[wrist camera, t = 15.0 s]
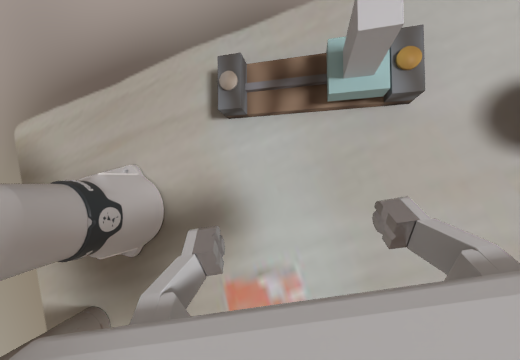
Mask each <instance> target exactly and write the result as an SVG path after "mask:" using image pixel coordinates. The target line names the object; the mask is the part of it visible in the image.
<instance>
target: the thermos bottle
mask: <svg viewBox="0 0 520 360" xmlns="http://www.w3.org/2000/svg"><path fill="white" fill-rule="evenodd" d="M105 328H110V321H109V318H108V316H107V315H106V313H105V312H104V311H103V310H102V309H100V308H98V307H90V308H88V309H86V310H84V311H82V312H80V313H79V314H77V315H75V316H73V317H72V318H70V319H68V320H66V321H64V322H63V323H61V324H59V325H57V326H56V327H54V328H52V329H50V330H49V331H47V332H45V333H44V334H42V335H40V336H38V337H36V338H34V339H32V340H30V341H29V342H27V343H25V344H23V345H21V346H20V347H18V348H16V349H15V350H12V351H11V352H9V353H7V354H6V355H4V356H2V357H0V360H9V359H10V358H11V357H12V356H14V355H15V354H16V353H17V352H19V351H20V350H21V349H23V348H24V347H25V346H27V345H28V344H29V343H31V342H32V341H34V340H36V339H39V338H42V337H47V336H54V335H61V334H69V333H76V332H83V331H91V330H98V329H105Z"/></svg>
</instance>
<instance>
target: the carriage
mask: <svg viewBox="0 0 520 360" xmlns="http://www.w3.org/2000/svg"><path fill="white" fill-rule="evenodd" d="M403 24H404V8H403V0H355V2H354V6H353V10H352V15H351V19H350V23H349V27H348V31H347V35H346V37H339V38H333V39H328V43H327V102H328V101H339V100H350V99H361V98H372V97H383V96H384V95H385V94H386V93H387V91H388V90H389V89H390V49H389V48H390V47H391V45H392V43H393V42H394V40H395V38H396V36H397V35H398V33H399V31H400V29H401V28H402V26H403Z"/></svg>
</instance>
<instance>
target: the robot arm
mask: <svg viewBox="0 0 520 360" xmlns="http://www.w3.org/2000/svg"><path fill="white" fill-rule="evenodd" d="M374 207H375V209H376V211H375V212H374V213H373V217H372V219H373V224H374V227H375V229H376V230H377V232H379V233H381V234H383V236H382V239H383V241H384V242H385V244H386V245H387V247H388V248H389V249H395V248H403V247H407V248H408V249H409V250H411V251H412V252H414V253H415V254H417V255H418V256H420V257H421V258H423V259H424V260H426V261H427V262H429V263H430V264H432V265H433V266H435V267H436V268H438V269H439V270H441V271H442V272H444V273H445V274H447V277H446V278H445V280H444V281H441V282H434V283H427V284H420V285H413V286H406V287H398V288H391V289H384V290H377V291H370V292H363V293H356V294H349V295H341V296H334V297H327V298H320V299H313V300H306V301H299V302H292V303H284V304H277V305H270V306H263V307H256V308H249V309H241V310H234V311H227V312H220V313H213V314H206V315H198V316H190V315H189V313H188V312H187V310H186V308H187V307H188V305H189V304H190V302H191V301H192V299H193V297H194V296H195V294H196V293H197V291H198V290H199V288H200V287H201V285H202V284H203V282H204V280H205V279H206V276H211V275H216V274H222V273H223V266H224V261H223V258H222V257H223V255H224V254H225V245H224V239H223V237H222V236H221V235H220V229H219V226H212V227H204V228H198V229H190V230H189V231H188V232H187V236H186V240H185V243H184V247H183V250H182V254H181V256H178V257H177V258H176V259H175V260H174V261H173V262H172V263H171V264H170V265H169V267H168V268H167V269H166V270H165V271H164V272H163V273H162V274H161V275H160V276H159V277H158V278H157V279H156V280H155V281H154V282H153V283H152V284H151V285H150V286H149V287H148V289H147V290H146V291H145V292H144V293H143V294H142V295H141V296H140V299H139V301H138V304H137V306H136V309H135V311H134V314H133V317H132V319H131V322H130V324H129V325H126V326H119V327H112V328H105V329H98V330H91V331H83V332H76V333H69V334H61V335H54V336H47V337H42V338H39V339H36V340H34V341H32V342H31V343H29V344H28V345H27V346H25V347H24V348H23V349H21V350H20V351H19V352H17V353H16V354H15V355H14V356H12V357H11V358H10V359H9V360H520V263H519V262H518V261H516V260H515V259H514V258H513V257H512V256H511V255H509V254H508V253H507V252H506V251H505V250H503V249H502V248H501V247H500V246H499V245H497V244H495V243H493V242H490V241H488V240H485V239H483V238H481V237H478V236H476V235H474V234H471V233H469V232H466V231H464V230H462V229H459V228H457V227H455V226H452V225H450V224H447V223H445V222H443V221H440V220H438V219H435V218H432V219H431V218H430V217H429V216H428V215H427V214H426V213H425V212H424V211H423V210H422V209H421V208H420V207H419V206H418V205H417V204H416V203H415V202H414V201H413V200H412V199H411V198H410V197H408V196H406V197H400V198H394V199H388V200H382V201H377V202H376V203H375V206H374ZM163 216H164V206H163V201H162V197H161V195H160V193H159V191H158V189H157V188H156V186H155V185H154V184H153V183H152V182H151V181H149V180H148V179H147V178H146V177H144V176H143V174H142V172H141V170H140V169H139V167H138V166H137V165H128V166H124V167H120V168H117V169H113V170H109V171H106V172H102V173H98V174H94V175H91V176H87V177H83V178H80V179H79V180H78V181H77V180H64V181H56V182H53V183H50V184H0V281H2V280H4V279H7V278H10V277H13V276H16V275H19V274H21V273H24V272H27V271H30V270H33V269H36V268H39V267H42V266H45V265H48V264H51V263H54V262H67V261H71V260H77V259H80V258H83V257H85V256H88V255H90V257H96V258H98V259H104V258H108V257H111V256H115V255H118V254H122V255H125V256H128V257H134V256H137V255H138V254H139V252H140V251H141V249H142V247H143V246H144V245H145V244H146V243H147V242H149V241H150V240H151V239H152V238H153V237H154V236H155V235H156V234H157V233H158V231H159V229H160V227H161V225H162V221H163Z"/></svg>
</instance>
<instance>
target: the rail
mask: <svg viewBox="0 0 520 360" xmlns="http://www.w3.org/2000/svg"><path fill="white" fill-rule="evenodd" d="M389 49H390V89H389V90H388V91H387V93H386V94H385V95H384V96H383V97H372V98H361V99H350V100H339V101H328V102H327V53H323V54H316V55H309V56H302V57H294V58H287V59H280V60H273V61H266V62H259V63H252V64H246V62H245V60H244V58H243V56H242V54H241V53H236V54H229V55H223V56H218V110H219V111H220V112H221V113H223V114H224V115H225V116H226V117H228V118H229V119H231V118H243V117H255V116H267V115H279V114H291V113H303V112H315V111H327V110H339V109H351V108H363V107H375V106H386V105H398V104H409V103H410V102H412V101H413V100H414V99H415V98H416V97H418V96H419V95H420V94H421V93H423V92H424V91H425V67H424V28H423V25H418V26H411V27H405V28H401V29H400V31H399V33H398V35H397V36H396V38H395V40H394V42H393V43H392V45H391V47H390V48H389Z"/></svg>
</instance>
